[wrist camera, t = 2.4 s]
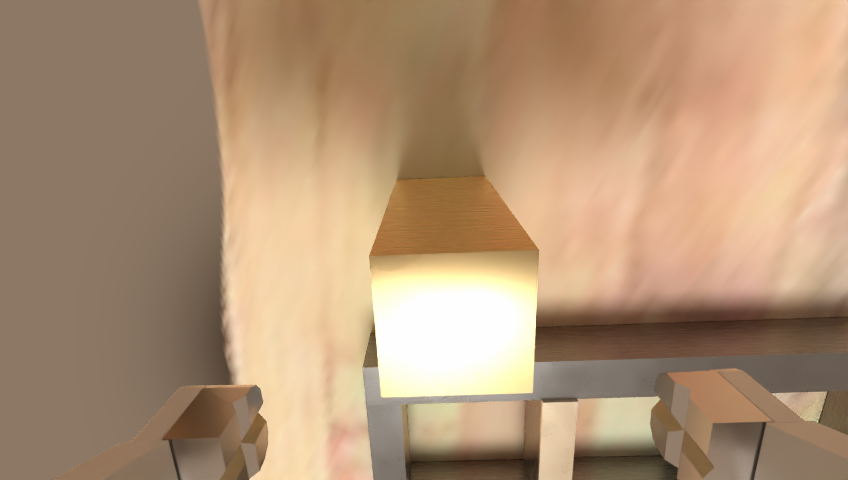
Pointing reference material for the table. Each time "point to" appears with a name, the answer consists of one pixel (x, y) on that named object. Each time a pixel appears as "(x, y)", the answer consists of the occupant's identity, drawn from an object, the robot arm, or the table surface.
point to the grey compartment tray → (618, 390)
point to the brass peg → (453, 291)
